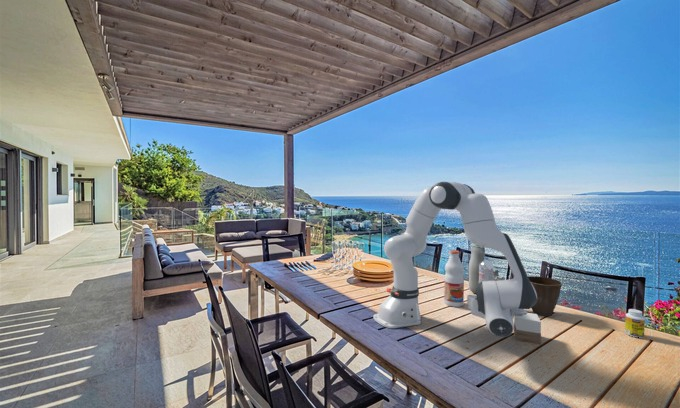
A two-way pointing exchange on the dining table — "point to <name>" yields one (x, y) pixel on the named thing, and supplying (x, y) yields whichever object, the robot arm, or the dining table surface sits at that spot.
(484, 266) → the water bottle
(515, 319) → the block top
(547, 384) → the dining table surface
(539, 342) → the block bottom
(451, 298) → the fruit juice
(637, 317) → the supplement bottle
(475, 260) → the grey thermos flask
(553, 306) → the plant pot
